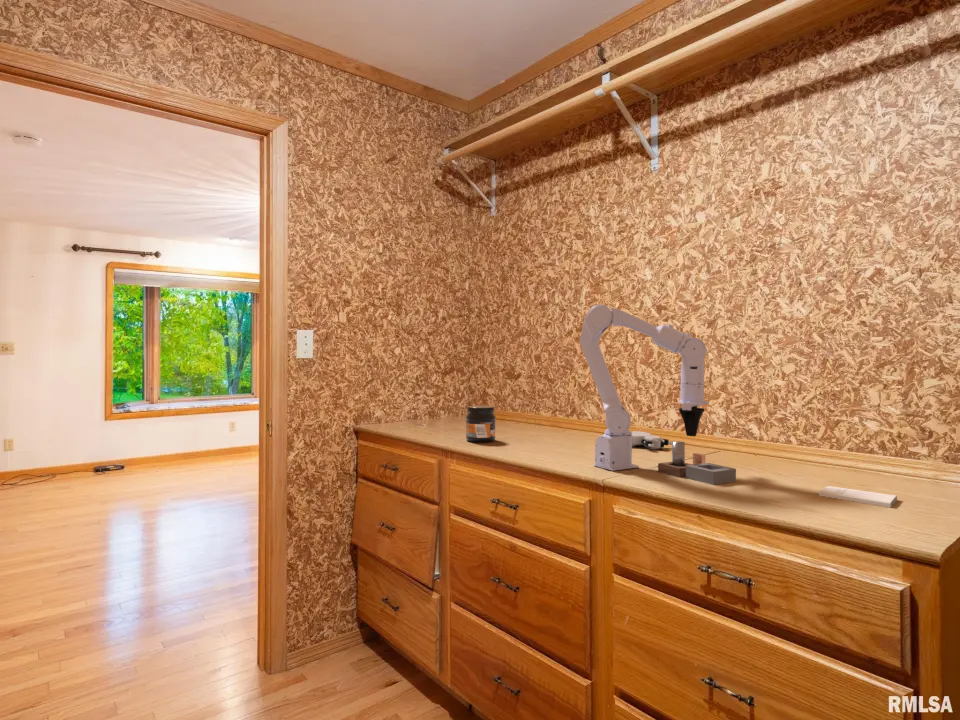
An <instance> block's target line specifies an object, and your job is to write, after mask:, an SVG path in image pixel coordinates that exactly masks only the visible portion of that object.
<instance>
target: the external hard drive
mask: <svg viewBox="0 0 960 720" xmlns="http://www.w3.org/2000/svg"><path fill="white" fill-rule="evenodd" d="M818 496H819V497H822V496H826V497H825V498H828V497H832V498H831V499H834V498H837V499H836V500H840V499H843V500H842V501H846V500H849V501H848V502H852V501H855V502H854V503H858V502H860V504H864V503H866V504H865V505H870V504H871V505H872V506H877V505H878V507H884V508H892V507H893V505H894V504H895V503H896V502H897V501H898V496H897V495H895V494H888V493H879V492H874V491H867V490H859V489H852V488H845V487H839V486H831V485H827V486H826V487H823V488H822V489H821V490H819V492H818Z"/></svg>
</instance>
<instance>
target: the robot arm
mask: <svg viewBox="0 0 960 720" xmlns="http://www.w3.org/2000/svg"><path fill="white" fill-rule="evenodd" d="M583 318H584V319H583V324H582V329H581V333H580V337H579V344H580V347H581V349H582V352H583V355H584V358H585V360H586V363H587V365H588V367H589V371H590V373H591V376H592V378H593V381H594V384H595V388H596V389H597V392H598V394H599V398H600V400H601V403H602V407H603V410H604V413H605V427H606V430H604V434H603V435H599V436H597V438H596V439H595V444H594V445H595V447H594V453H595V454H594V463H593V464H592V465H593V466H594V467H598V468H602V469H605V470H609V471H611V472H613V471H620V470H629V469H636V468H640V466H639V465H637V464H635V463H632V462H633V447H632V432H630V430H629V429H630V426H631V415H630V413H629V412H628V410H626V409H625V407H624V406H623V404H622V401H621V400H620V397H619V394H618V392H617V389H616V387H615V384H614V382H613V379H612V376H611V374H610V371H609V368H608V365H607V363H606V360H605V357H604V355H603V353H602V350H601V347H600V344H599V342H600V340H601V337H602V336H603V335H604V332H605V331H606V330H608V328H610V326H611V325H612V327H614V328H615V327H626V328H629V329H630V330H632V331H635V332H638V333H641V334H643V335H645V336H648V337H650V338H651V339H652V342H653V345H655V346H658V347H660V348H663V349H666V350H667V351H669V352H672V353H674V354H676V355H678V354H680V356H681V366H680V392H679V393H680V399H679V405H682V406H681V407H680V408H678V410H679V413H680V415H681V417H682V420H683V424H684V430H685V434H686V436H687V437H696V436H697V434H698V429H699V425H700V421H701V419H702V415H703V414H704V413H705V408H703V407H702V408H700V407H701V406H703V405H709V403H710V402H709V401H708V400H705V355H706V354H707V352H708V349H707V346H706V343H705V342H704V341H703V340H702V339H700V338H698V337H691V335H692V334H691V333H689V332H686V333H684V332H682V331H681V330H678V329H675V328H674V325H672V324H668V325H666V324H661V325H657V326H656V325H654V324H652V323H650V322H648V321H646V320H643V319H641V318H639V317H637V316H635V315H633V314H630V313H629V312H626V311H624V310H621V309H618V308H614V307H608V306H607V305H605V304H602V303H601V304H600V303H599V304H595V305H593V306H591V307H590V308H589V310H588V311H587V313H586V315H585V316H584V317H583Z"/></svg>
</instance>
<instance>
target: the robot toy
mask: <svg viewBox="0 0 960 720" xmlns="http://www.w3.org/2000/svg"><path fill="white" fill-rule="evenodd" d="M629 431H630V430H629ZM630 432H632V448H633V447H636V446H644V447H645V448H648V449H649V450H658V449H662V448H665V446H669V445H671V446H672V442H673V441H670V440H669V439H668V438H667V439H666V438H662V437H661V436H657V435H653V434H652V433H649V432H646V431H639V430H637V431H636V430H635V431H633V430H631V431H630Z"/></svg>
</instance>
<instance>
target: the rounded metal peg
mask: <svg viewBox="0 0 960 720" xmlns="http://www.w3.org/2000/svg"><path fill="white" fill-rule="evenodd" d="M671 442H672V445H671V447H672V449H671V450H672V452H671V455H672V456H671V457H672V458H671V462H672V465H674V466H678V467H681V466H685V463H686V462H685V461H686V459H685V457H686V451H685V449H686V448H685V445H686V444H685V441H681V440H674V441H673V440H672V441H671Z"/></svg>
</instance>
